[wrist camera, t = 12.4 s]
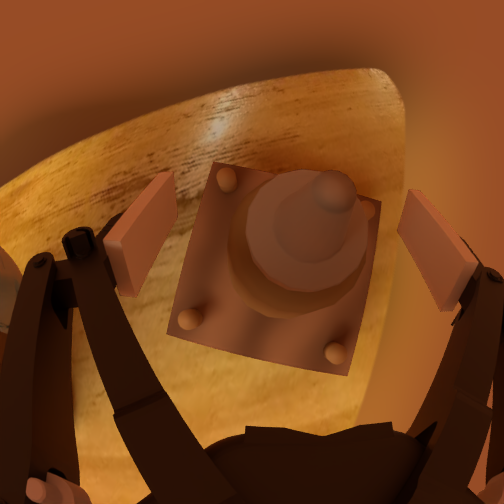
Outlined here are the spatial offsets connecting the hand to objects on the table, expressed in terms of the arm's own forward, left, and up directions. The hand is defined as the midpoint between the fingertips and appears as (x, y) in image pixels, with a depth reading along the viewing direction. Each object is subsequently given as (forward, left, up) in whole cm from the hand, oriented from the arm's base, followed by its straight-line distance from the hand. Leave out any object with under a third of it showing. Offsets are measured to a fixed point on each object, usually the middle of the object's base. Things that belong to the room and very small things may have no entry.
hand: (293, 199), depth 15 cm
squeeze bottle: (+1, -2, -10) cm, 10 cm away
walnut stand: (+1, -2, -16) cm, 17 cm away
